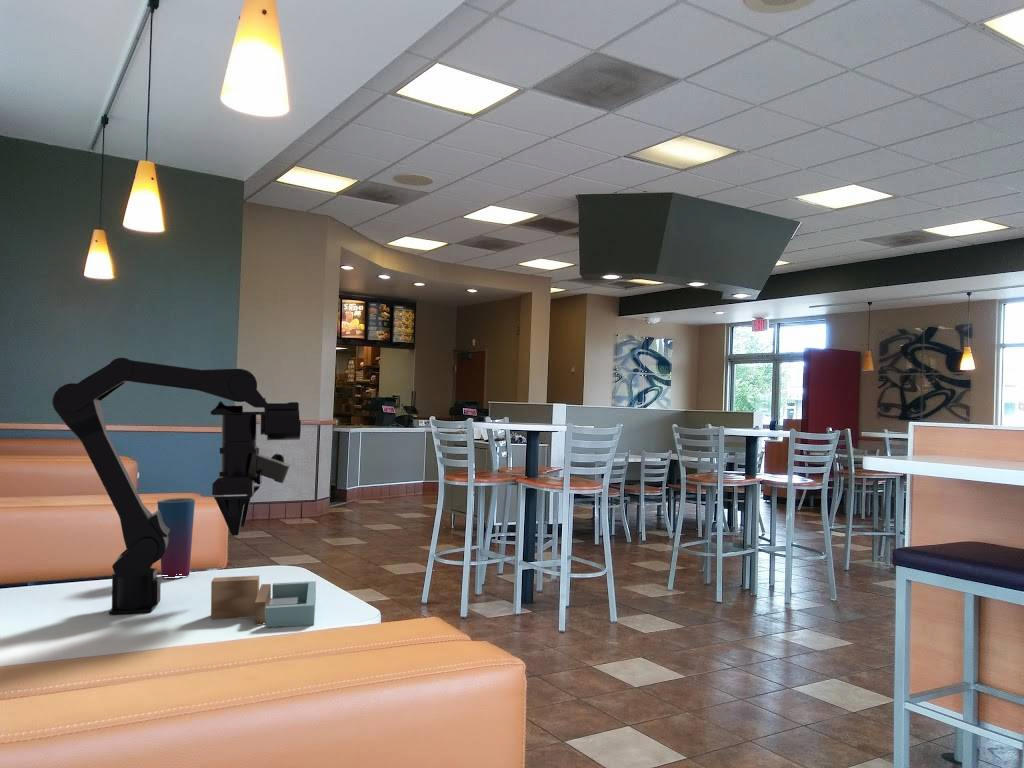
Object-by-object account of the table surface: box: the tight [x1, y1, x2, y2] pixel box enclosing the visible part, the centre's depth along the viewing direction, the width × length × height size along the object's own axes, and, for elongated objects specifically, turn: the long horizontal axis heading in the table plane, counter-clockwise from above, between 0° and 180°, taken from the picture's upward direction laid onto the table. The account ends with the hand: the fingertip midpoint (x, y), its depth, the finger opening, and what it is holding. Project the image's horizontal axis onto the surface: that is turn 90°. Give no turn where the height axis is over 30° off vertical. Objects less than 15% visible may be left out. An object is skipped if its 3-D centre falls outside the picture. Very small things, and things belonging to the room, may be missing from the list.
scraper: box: [210, 575, 272, 626], centre depth 124 cm, size 8×12×6 cm
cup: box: [157, 497, 196, 578], centre depth 152 cm, size 7×7×15 cm
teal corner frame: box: [264, 580, 317, 629], centre depth 126 cm, size 7×16×3 cm, turn 13°
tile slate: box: [269, 597, 299, 606], centre depth 129 cm, size 4×4×2 cm
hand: (238, 530), depth 134 cm, fingers open, 9 cm apart
